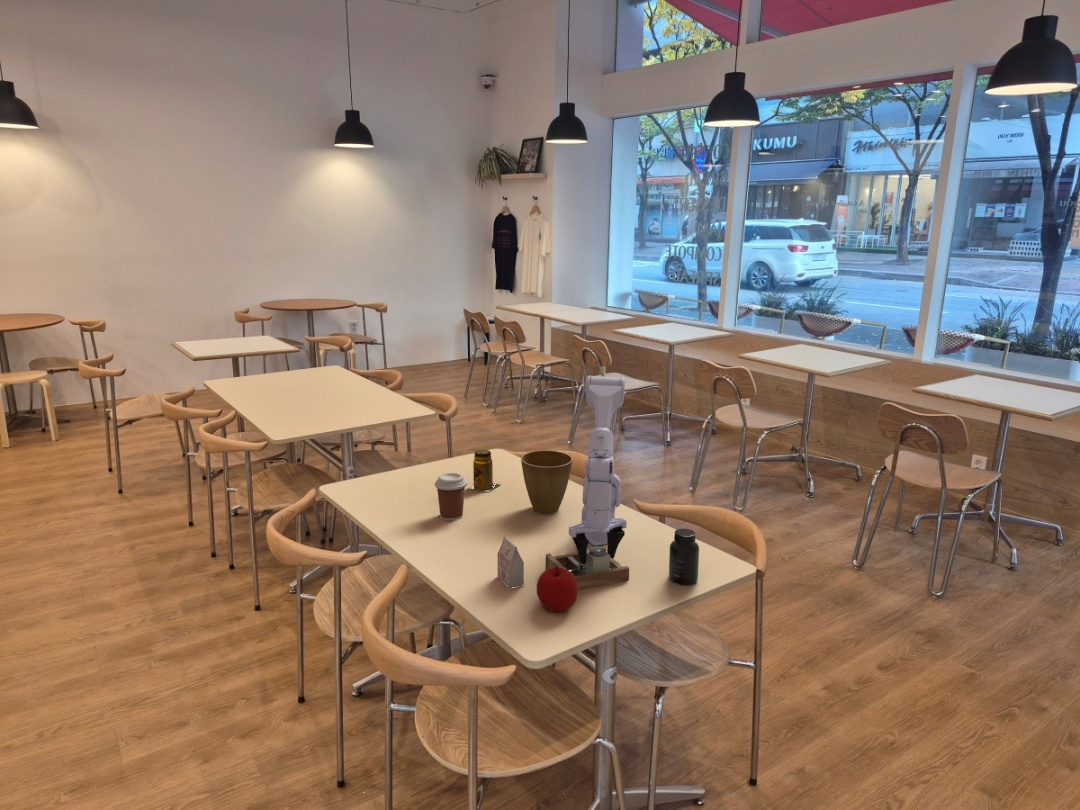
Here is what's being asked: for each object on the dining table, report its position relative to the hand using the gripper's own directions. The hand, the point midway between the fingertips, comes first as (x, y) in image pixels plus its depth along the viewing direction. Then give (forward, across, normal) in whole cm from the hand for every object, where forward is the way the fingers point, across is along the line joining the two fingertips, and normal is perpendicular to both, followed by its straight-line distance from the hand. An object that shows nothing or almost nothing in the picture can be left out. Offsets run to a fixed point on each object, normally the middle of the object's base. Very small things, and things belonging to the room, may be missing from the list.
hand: (596, 559), depth 175 cm
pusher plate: (+3, -7, 0) cm, 8 cm away
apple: (+4, -16, -11) cm, 20 cm away
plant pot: (+4, +5, +41) cm, 41 cm away
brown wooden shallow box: (+3, -3, 0) cm, 4 cm away
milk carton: (+4, -21, +4) cm, 21 cm away
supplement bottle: (+4, +17, -11) cm, 21 cm away
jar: (+3, 0, 0) cm, 4 cm away
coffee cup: (+4, -22, +47) cm, 52 cm away
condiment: (+4, -5, +66) cm, 66 cm away
